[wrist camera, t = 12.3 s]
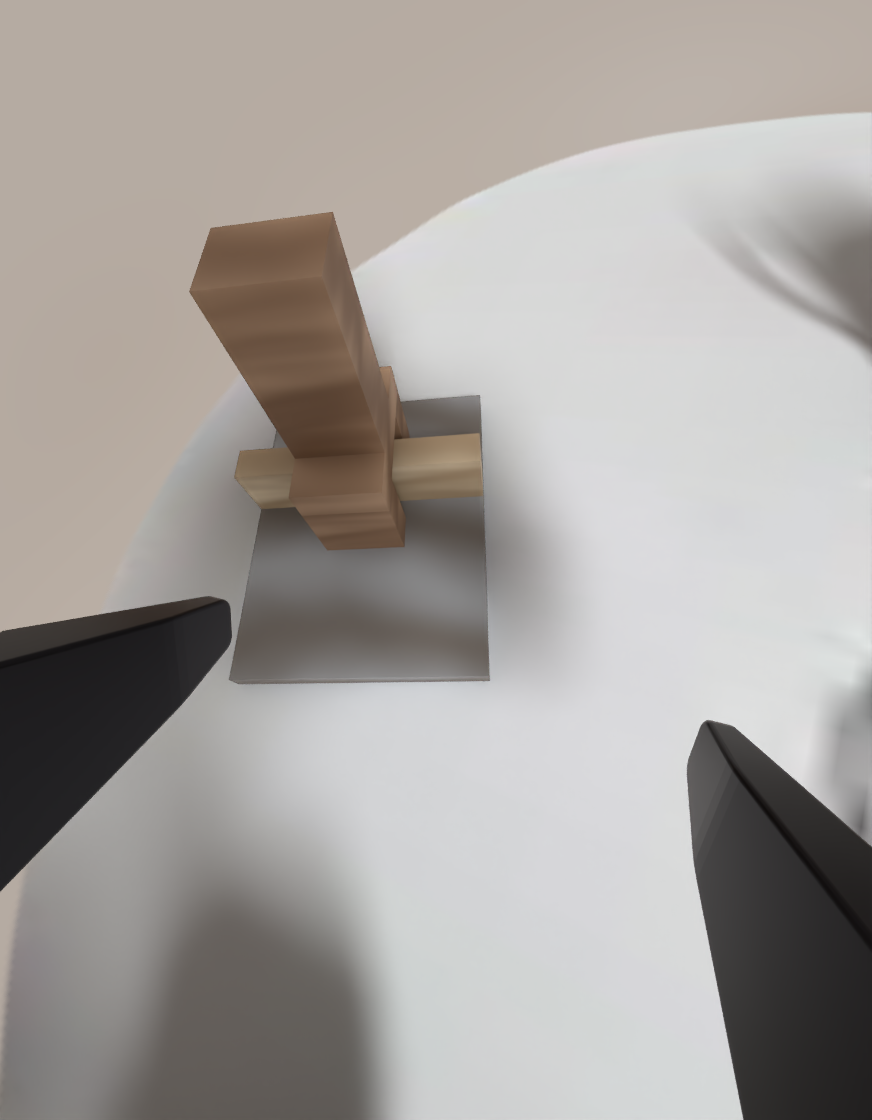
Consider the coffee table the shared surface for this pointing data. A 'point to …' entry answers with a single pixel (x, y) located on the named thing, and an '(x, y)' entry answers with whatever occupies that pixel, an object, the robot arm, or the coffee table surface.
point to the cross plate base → (373, 569)
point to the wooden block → (310, 370)
